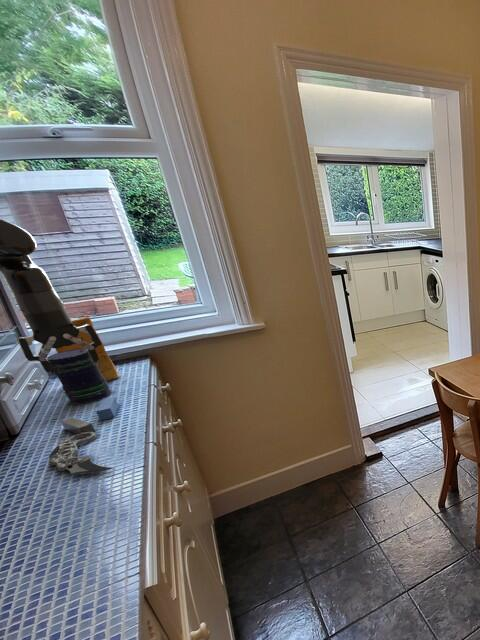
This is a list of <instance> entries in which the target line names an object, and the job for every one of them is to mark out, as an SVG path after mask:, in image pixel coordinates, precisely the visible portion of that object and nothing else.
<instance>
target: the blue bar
mask: <svg viewBox="0 0 480 640" xmlns="http://www.w3.org/2000/svg"><path fill="white" fill-rule="evenodd" d="M119 406H120V405H119V403H118V400H117V398H116V396H111V397H107V398H106V397H105V398H102V399H100V402H99V404H98V406H97V408H96V410H95V412H96V415H97V416H98V418H99V420H100V421H105V420H110V419H113V418H114V419H115V418H116V414H117V412H118V409H119Z"/></svg>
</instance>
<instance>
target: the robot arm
mask: <svg viewBox="0 0 480 640" xmlns="http://www.w3.org/2000/svg"><path fill="white" fill-rule="evenodd" d="M36 249H37V242H36V240H35V238H34V237H33V236H32V235H31V234H30V233H29V231H27V230H26V229H23V228H21V227H20V226H18V225H16V224H14V223H12V222H10V221H7V220H4V219H2V218H0V273H1V274H2V275H3V277H4V279H5V281H6V283H7V285H8V287H9V288H10V290H11V292H12V294H13V297H14V298H15V302H16V304H17V306H18V308H19V310H20V312H21V313H22V315H23V317H24V318H25V320H26V322H27V324H28V326H29V328H30V330H31V331H32V335H31V336H24V337H23V336H19V337H17V338H16V340H17V342H18V344H19V346H20V349H21V350H22V353H23V355H24V357H25V359H26V360H27V361H29V362H39V363H40V365H41V366H42V369H43V370H44V371H45V372H46V373H50V375H53V374H54V373H55V372H54V370H53V368H52V366H51V364H50V363H49V361H48V360H47V357H48V356H49V354H50V353H51V350H52V349H55V350H56V349H58V348H61V347H63V346H71V345H73V344H74V343H77V344H79V345H81V346H83V347H85V348H87V349H88V350H87V352H88V354H89V356H90V358H91V360H92V362H93V363H98V362H97V360H99V357H98V355H97V353H96V351H95V348H96V347H98V346H100V345H101V344H102V343H103V342H102V343H101V341H102V340H101V339H100V340H101V341H100V340H99V338H100V337H99V338H98V336H99V335H98V336H97V334H98V333H97V332H96V333H97V334H96V333H95V331H96V330H95V331H94V329H95V328H94V327H93V328H94V329H93V328H92V326H90V325H88V324H85V325H84V326H81V327H75V326H74V325H73V323H72V321H73V320H72V319H71V316H70V315H69V313H68V310H67V309H66V307H65V305H64V302H63V300H62V299H61V297H60V295H59V294H58V293H57V292H56V290H55V288H54V286H53V285H52V282H51V281H50V278H49V277H48V275H47V273H46V272H45V270H44V269H43V268H42V267H39V266H38V265H36V264H35V263H34V262H33V261H32V259H31V257H30V255H31V254H33V253H34V252H35V251H36ZM79 331H83V332H84V333H86V334H88V335H89V336H90V338H91V340H92V341H93V342H92V343H90V344H88V343H86V342H84V341H82V340H80V339H78V338H77V336H78V334H79ZM34 341H35V342H37V343H39V344H41V346H40V349H39V352H38V354H36V355H35V354H33V352H32V349H31V347H30V346H33V342H34ZM54 375H55V374H54Z"/></svg>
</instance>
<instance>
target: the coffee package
mask: <svg viewBox="0 0 480 640" xmlns="http://www.w3.org/2000/svg"><path fill="white" fill-rule="evenodd" d="M71 321H72V323H73V325H74V326H75V327H81V326H84V325H85V324H88V325H90V326H92V328H93V329H94V331H95V333H96V334H97V336H98V338H99V340H100V341H101V343H102V344H101V345H100V346H98V347H96V348H95V351H96V353H97V355H98V357H99V360H97V362H98V369H99V371H100V373H101V375H102V376H103V377H104V378H105V379H106V382H107V383H108V382H109V381H113V380H115V379H118V378H119V373H118V371H117V367H116V366H115V364H114V362H113V360H112V359H111V357H110V356H109V355H108V352H107V350H106V348H105V345H104V344H103V341H102V340H101V338H100V336H99V334H98V333H97V330H96V329H95V328H94V324H93V321H92V319H91V318H90V316H85V317H81V318H78V319H75V320H71ZM77 338H78V339H80V340H82V341H84V342H86V343H88V344H90V343H92V342H93V341H92V340H91V338H90V336H89V335H88V334H86V333H84V332H83V331H79V334H78V336H77ZM84 348H85V347H83V346H81V345H79V344H77V343H74V344H73V345H71V346H63V347H61V348H58V349H56V348H55V351H56V353H60V352H64V351H69V350H74V349H84Z"/></svg>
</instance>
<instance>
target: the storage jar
mask: <svg viewBox="0 0 480 640" xmlns="http://www.w3.org/2000/svg"><path fill="white" fill-rule="evenodd" d="M87 350H88V349H87V348H84V349H74V350H69V351H64V352H60V353H57V352H56V353H53V354H51V355H48V356H47V358H46V359H47V360H48V361H49V363H50V364H51V366H52V368H53V370H54V372H55V373H54V375H55V376H56V377H57V378H58V380H59V382H60V383H61V385H62V390H63V392H64V394H65V396H66V397H67V398H68V399H69V402H70V404H72V405H83V404H88V403H93V402H96V401H99V400H101V399H106V397H107V398H108V397H109V396H110V395H112V391H111V389H110V387H109V383H108V381H107V382H106V379H105V378H104V377H103V376H102V375H101V373H100V371H99V369H98V363H93V362H92V360H91V358H90V356H89V354H88V352H87Z"/></svg>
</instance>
